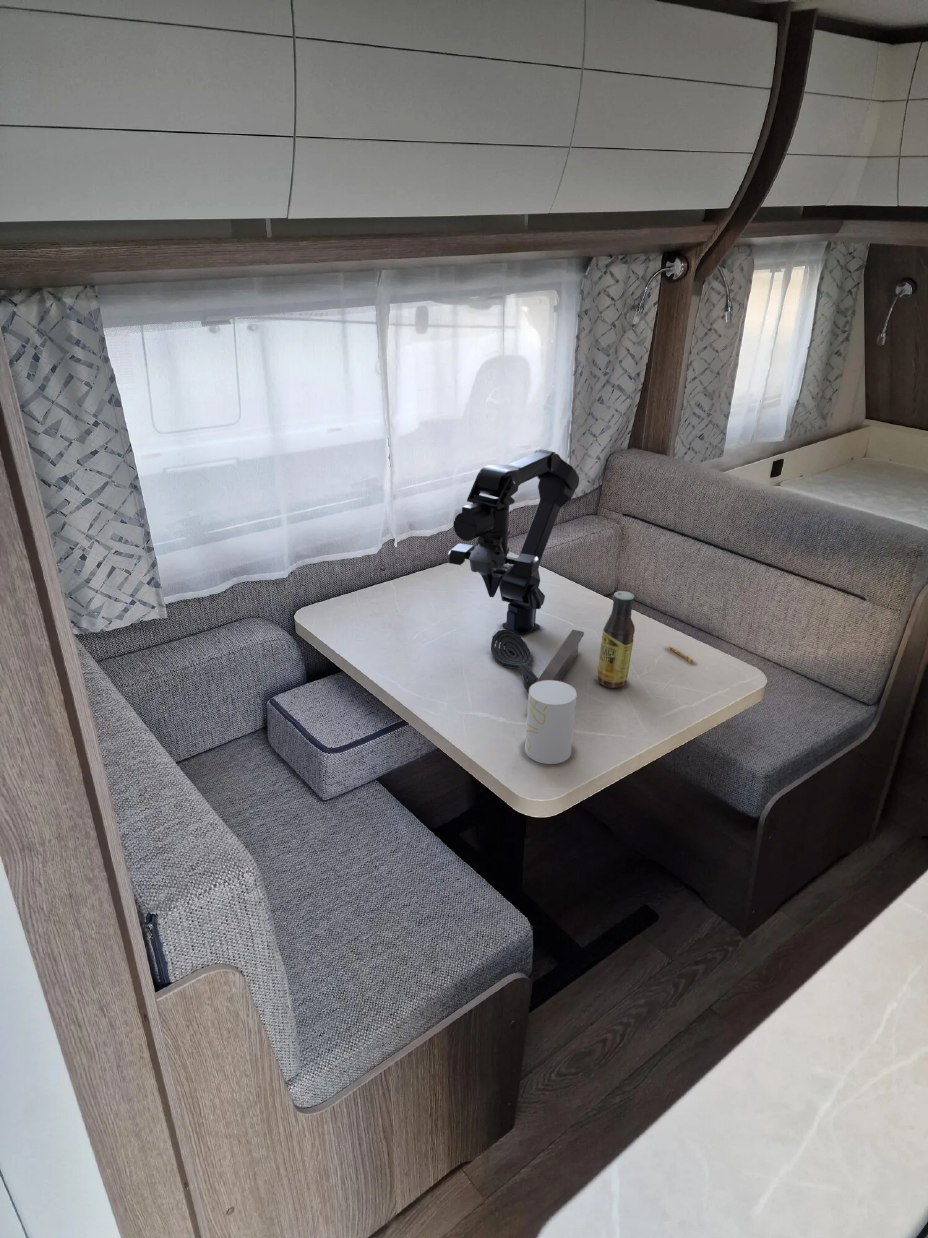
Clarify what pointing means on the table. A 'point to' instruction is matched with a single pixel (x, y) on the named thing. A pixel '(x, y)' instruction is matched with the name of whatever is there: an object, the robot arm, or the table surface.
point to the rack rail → (562, 658)
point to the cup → (550, 721)
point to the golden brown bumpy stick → (680, 654)
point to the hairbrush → (513, 654)
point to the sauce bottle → (617, 642)
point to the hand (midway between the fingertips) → (492, 596)
